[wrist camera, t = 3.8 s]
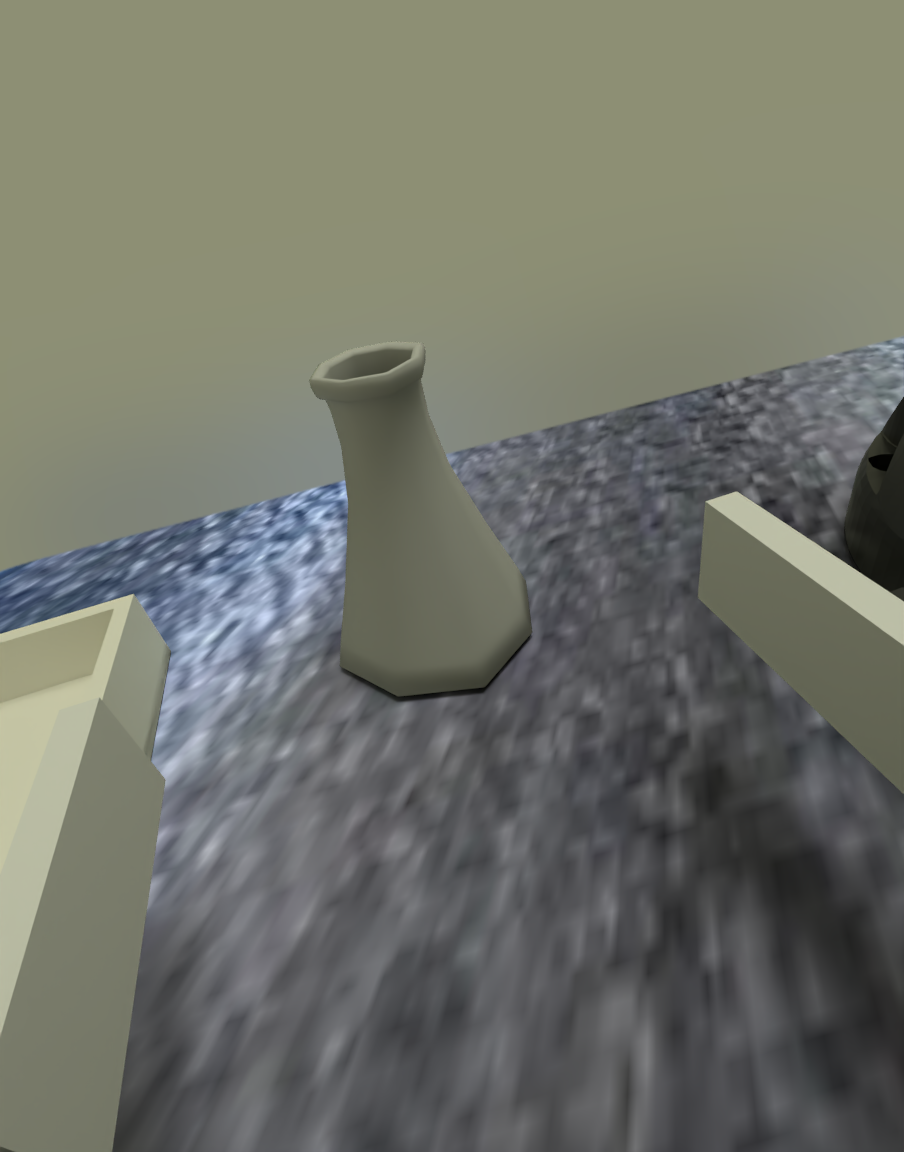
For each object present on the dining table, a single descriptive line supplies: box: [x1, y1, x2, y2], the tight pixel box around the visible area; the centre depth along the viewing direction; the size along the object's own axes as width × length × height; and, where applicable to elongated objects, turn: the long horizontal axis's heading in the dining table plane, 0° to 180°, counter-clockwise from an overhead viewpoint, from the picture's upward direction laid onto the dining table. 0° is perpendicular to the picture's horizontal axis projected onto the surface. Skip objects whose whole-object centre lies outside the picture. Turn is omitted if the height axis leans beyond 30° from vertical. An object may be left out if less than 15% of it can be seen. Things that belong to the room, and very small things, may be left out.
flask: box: [309, 341, 532, 697], centre depth 19 cm, size 7×7×10 cm
